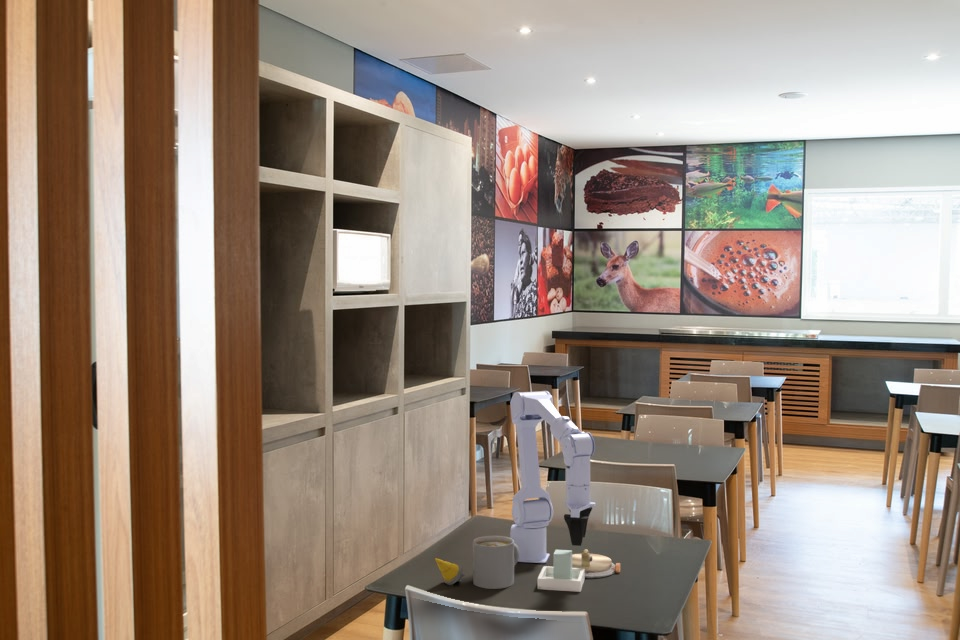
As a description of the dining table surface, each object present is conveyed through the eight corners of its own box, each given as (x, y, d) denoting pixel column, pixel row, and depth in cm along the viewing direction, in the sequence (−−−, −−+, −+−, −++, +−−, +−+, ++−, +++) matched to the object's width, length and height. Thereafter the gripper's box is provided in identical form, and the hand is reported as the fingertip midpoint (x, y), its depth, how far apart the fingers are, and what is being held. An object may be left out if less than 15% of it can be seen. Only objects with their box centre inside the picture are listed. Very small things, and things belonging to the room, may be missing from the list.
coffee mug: (488, 591, 204) (488, 548, 204) (465, 580, 212) (464, 539, 212) (533, 581, 211) (533, 540, 211) (509, 571, 219) (509, 531, 219)
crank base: (556, 576, 215) (556, 568, 215) (563, 560, 229) (563, 553, 229) (618, 579, 212) (618, 572, 212) (621, 563, 226) (621, 556, 226)
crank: (566, 556, 228) (566, 537, 228) (613, 559, 225) (613, 540, 225) (560, 571, 215) (560, 551, 215) (609, 574, 213) (609, 553, 212)
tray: (537, 589, 205) (537, 578, 205) (543, 576, 215) (543, 566, 215) (580, 591, 203) (580, 581, 203) (584, 578, 213) (584, 568, 213)
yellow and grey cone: (467, 588, 208) (441, 564, 204) (450, 594, 210) (424, 570, 206) (471, 569, 212) (445, 545, 208) (454, 575, 215) (428, 552, 211)
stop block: (553, 583, 207) (553, 554, 207) (555, 578, 211) (555, 549, 211) (570, 584, 207) (570, 554, 207) (572, 579, 211) (572, 550, 210)
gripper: (592, 490, 200) (592, 550, 200) (597, 478, 214) (598, 534, 214) (561, 489, 202) (561, 548, 202) (569, 477, 216) (569, 532, 216)
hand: (578, 541), depth 208 cm, fingers open, 7 cm apart
